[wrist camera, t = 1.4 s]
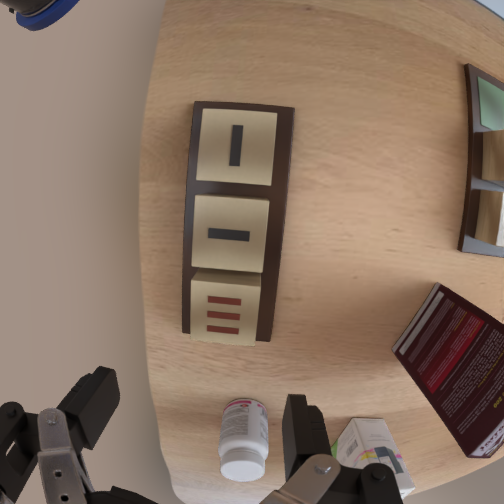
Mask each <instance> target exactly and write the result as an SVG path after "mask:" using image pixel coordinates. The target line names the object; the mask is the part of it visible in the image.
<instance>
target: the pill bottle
mask: <svg viewBox="0 0 504 504" xmlns="http://www.w3.org/2000/svg"><path fill="white" fill-rule="evenodd" d="M218 453H219V456H220V458H221V461H220V472H221V474H222V475H223V476H224V477H226V478H228V479H230V480H234V481H239V482H249V481H254V480H257V479H259V478H261V477H262V476H263V475H264V473H265V460H266V458H267V456H268V419H267V411H266V409H265V407H264V406H263V405H262V404H261V403H259V402H257V401H255V400H251V399H237V400H234V401H232V402H230V403H229V404H228V405H227V406H226V407H225V409H224V412H223V418H222V425H221V433H220V440H219V447H218Z"/></svg>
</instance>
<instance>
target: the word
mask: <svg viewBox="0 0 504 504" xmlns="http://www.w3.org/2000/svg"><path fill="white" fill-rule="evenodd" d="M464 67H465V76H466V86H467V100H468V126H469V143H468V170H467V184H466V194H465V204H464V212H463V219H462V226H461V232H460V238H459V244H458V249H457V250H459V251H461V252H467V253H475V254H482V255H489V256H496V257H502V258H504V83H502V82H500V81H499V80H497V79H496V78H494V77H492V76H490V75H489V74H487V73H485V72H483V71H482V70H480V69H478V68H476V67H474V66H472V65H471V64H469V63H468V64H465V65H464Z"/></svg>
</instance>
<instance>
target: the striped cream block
mask: <svg viewBox="0 0 504 504" xmlns="http://www.w3.org/2000/svg"><path fill="white" fill-rule="evenodd" d="M260 292H261V273H258V272H247V271H236V270H225V269H214V268H204V267H200V268H199V269H198V271H197V272H196V274H195V275H194V277H193V278H192V280H191V311H190V339H191V340H194V341H202V342H211V343H219V344H229V345H239V346H251V347H254V346H255V339H256V329H257V320H258V311H259V301H260Z"/></svg>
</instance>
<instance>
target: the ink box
mask: <svg viewBox="0 0 504 504" xmlns="http://www.w3.org/2000/svg"><path fill="white" fill-rule="evenodd" d="M331 452H332V455H333V457H334V458H336V459H337V460H338V461H339V463H340V464H341V465H343V466H346V467H351V468H358V469H363V468H364V467H365V466H366V465H368V464H371V463H383V464H386V465H387V466H389V467H390V468H391V469H392V470H393V472H394V475H395V478H396V481H397V485H398V488H399V491H400V495H401V498H402V499H403V498H405V497H406V496H407V495H408V494H409V493H410V492H411V491H413V490H414V489H415V485H414V483H413V481H412V479H411V476H410V474H409V472H408V470H407V467H406V465H405V463H404V461H403V459H402V457H401V454H400V452H399V450H398V448H397V446H396V444H395V442H394V440H393V437H392V435H391V433H390V431H389V429H388V427H387V425H386V423H385V421H384V419H371V418H352V419H351V421H350V422H349V424H348V425H347V427H346V428H345V430H344V431H343V432H342V434H341V435H340V437H339V438H338V439H337V441H336V442H335V443H334V445H333V446H332V447H331Z"/></svg>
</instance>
